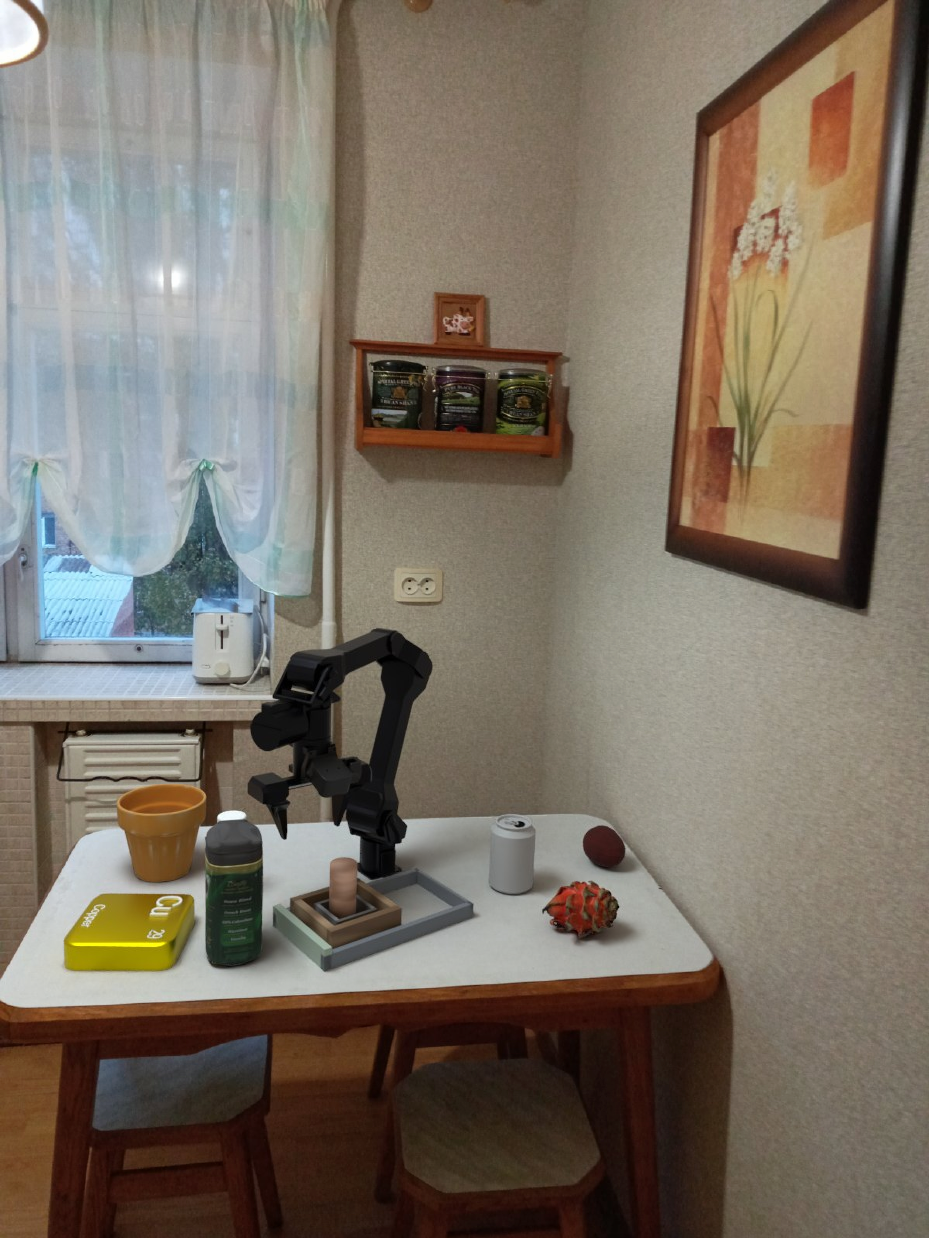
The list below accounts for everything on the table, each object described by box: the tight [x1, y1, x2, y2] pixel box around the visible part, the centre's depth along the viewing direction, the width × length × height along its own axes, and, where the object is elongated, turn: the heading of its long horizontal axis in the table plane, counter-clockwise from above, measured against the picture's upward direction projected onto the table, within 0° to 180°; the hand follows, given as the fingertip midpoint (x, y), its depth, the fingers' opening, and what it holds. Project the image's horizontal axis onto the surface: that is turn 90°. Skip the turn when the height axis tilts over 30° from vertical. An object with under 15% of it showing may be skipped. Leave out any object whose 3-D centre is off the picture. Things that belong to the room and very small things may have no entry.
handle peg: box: [328, 856, 358, 919], centre depth 132 cm, size 4×4×10 cm
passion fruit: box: [582, 824, 626, 868], centre depth 160 cm, size 7×8×7 cm
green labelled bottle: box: [204, 819, 264, 967], centre depth 126 cm, size 10×8×19 cm
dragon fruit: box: [541, 880, 621, 939], centre depth 136 cm, size 8×8×12 cm
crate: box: [289, 877, 403, 949], centre depth 133 cm, size 12×12×4 cm
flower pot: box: [116, 783, 207, 883], centre depth 150 cm, size 14×14×13 cm
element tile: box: [63, 892, 196, 972], centre depth 128 cm, size 15×15×5 cm
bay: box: [272, 867, 475, 972], centre depth 136 cm, size 15×27×4 cm, turn 129°
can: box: [488, 813, 537, 895], centre depth 149 cm, size 8×8×12 cm
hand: (310, 832), depth 138 cm, fingers open, 9 cm apart
